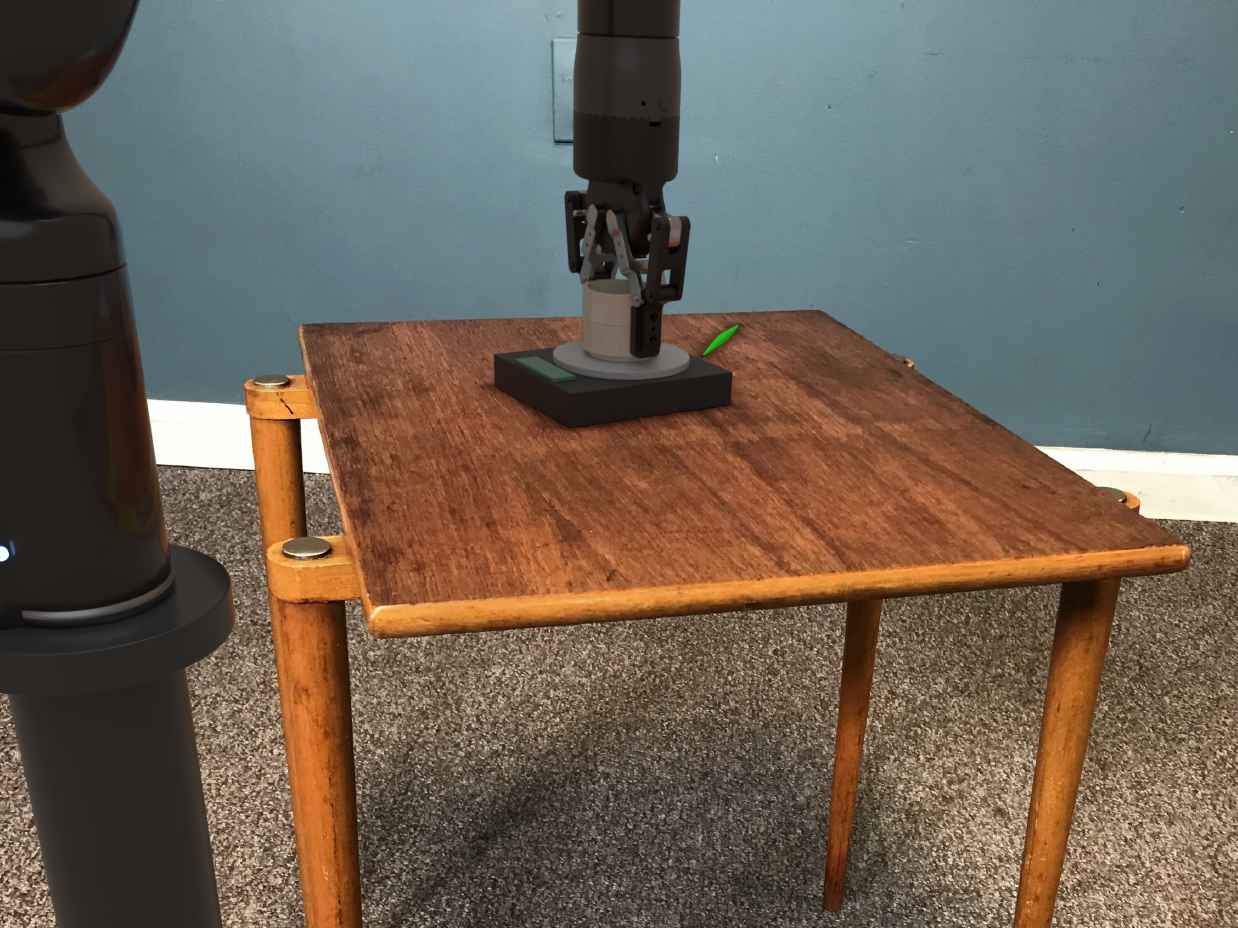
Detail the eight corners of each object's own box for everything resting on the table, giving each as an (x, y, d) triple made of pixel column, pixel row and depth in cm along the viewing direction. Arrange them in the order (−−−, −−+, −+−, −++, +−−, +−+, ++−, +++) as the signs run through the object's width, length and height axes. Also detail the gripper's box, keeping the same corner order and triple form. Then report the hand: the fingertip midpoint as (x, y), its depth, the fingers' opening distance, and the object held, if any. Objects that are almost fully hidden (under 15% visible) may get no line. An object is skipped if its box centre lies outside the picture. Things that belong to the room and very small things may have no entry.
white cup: (607, 367, 99) (609, 298, 97) (567, 348, 104) (568, 281, 102) (676, 359, 103) (678, 291, 100) (634, 341, 107) (636, 276, 105)
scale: (570, 428, 96) (570, 385, 95) (494, 386, 105) (493, 346, 104) (730, 404, 103) (733, 364, 102) (647, 366, 112) (648, 329, 111)
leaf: (744, 328, 127) (745, 319, 127) (705, 363, 115) (705, 353, 115) (735, 327, 128) (735, 318, 127) (695, 362, 116) (695, 352, 115)
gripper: (530, 97, 98) (533, 330, 106) (635, 118, 88) (629, 374, 96) (619, 96, 102) (615, 321, 110) (729, 116, 92) (716, 363, 100)
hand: (621, 345), depth 103 cm, fingers closed on white cup, 6 cm apart
